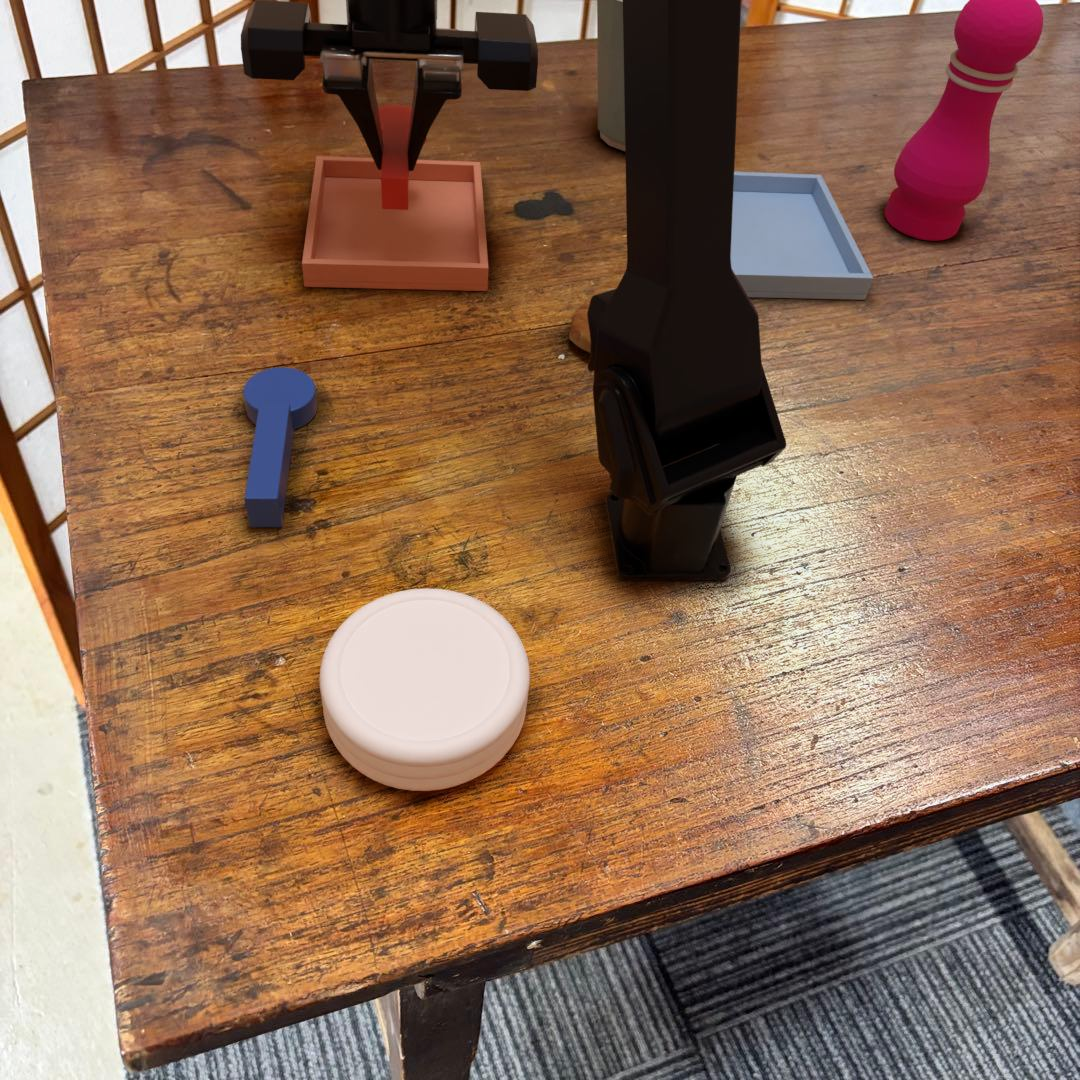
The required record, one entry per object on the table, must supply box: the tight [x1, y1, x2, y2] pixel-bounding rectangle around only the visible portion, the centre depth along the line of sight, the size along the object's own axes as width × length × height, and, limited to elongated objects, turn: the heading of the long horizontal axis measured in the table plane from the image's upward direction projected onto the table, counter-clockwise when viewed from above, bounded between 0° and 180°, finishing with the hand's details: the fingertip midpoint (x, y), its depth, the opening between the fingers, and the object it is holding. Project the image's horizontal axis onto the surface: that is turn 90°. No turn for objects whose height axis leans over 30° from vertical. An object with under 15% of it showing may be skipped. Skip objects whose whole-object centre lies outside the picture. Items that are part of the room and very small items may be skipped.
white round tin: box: [318, 587, 531, 792], centre depth 50 cm, size 10×10×4 cm
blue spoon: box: [242, 366, 318, 528], centre depth 61 cm, size 12×4×2 cm, turn 4°
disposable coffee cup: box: [596, 0, 625, 152], centre depth 87 cm, size 11×11×15 cm
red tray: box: [301, 155, 489, 292], centre depth 78 cm, size 15×13×2 cm
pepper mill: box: [884, 0, 1044, 242], centre depth 79 cm, size 7×7×20 cm
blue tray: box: [731, 171, 874, 301], centre depth 81 cm, size 15×13×2 cm
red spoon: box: [378, 104, 427, 210], centre depth 74 cm, size 12×4×2 cm, turn 4°
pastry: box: [568, 275, 623, 353], centre depth 71 cm, size 9×7×4 cm
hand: (395, 167), depth 73 cm, fingers closed on red spoon, 2 cm apart
